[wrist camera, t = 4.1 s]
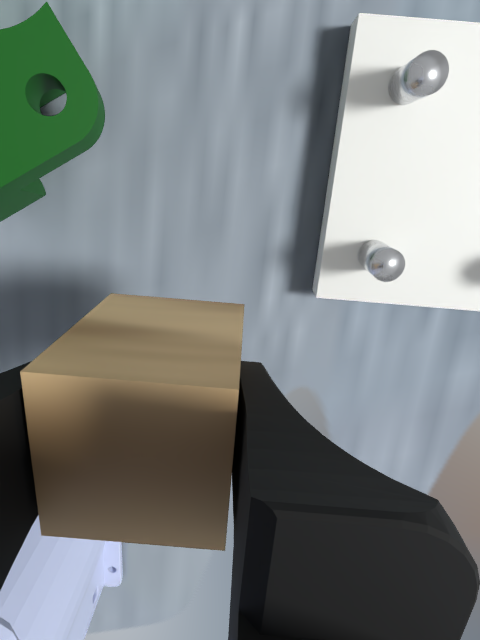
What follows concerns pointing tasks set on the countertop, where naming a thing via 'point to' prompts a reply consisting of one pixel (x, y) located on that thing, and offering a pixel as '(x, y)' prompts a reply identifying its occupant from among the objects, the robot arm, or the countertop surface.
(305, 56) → the countertop surface
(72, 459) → the block
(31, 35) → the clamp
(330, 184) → the plate
